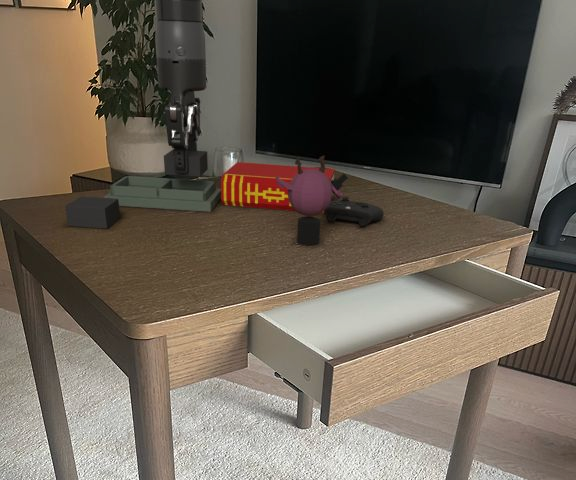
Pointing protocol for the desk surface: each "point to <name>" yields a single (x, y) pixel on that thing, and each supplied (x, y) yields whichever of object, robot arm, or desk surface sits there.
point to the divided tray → (165, 193)
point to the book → (260, 185)
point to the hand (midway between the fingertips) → (186, 168)
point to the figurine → (311, 198)
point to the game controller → (353, 211)
